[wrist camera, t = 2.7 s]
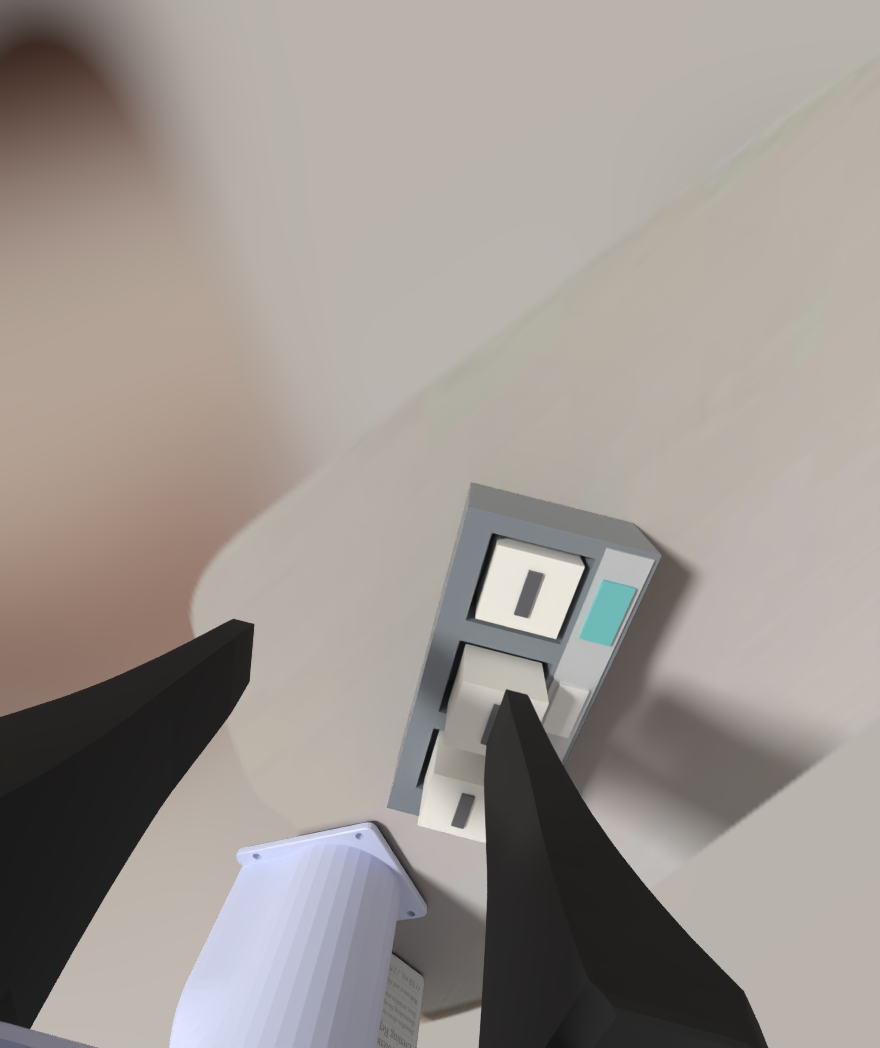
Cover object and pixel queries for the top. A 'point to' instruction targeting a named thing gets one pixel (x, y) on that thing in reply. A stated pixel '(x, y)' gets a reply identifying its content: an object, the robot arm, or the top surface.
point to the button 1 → (454, 792)
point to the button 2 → (527, 585)
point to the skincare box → (401, 1007)
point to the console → (568, 661)
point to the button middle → (488, 694)
